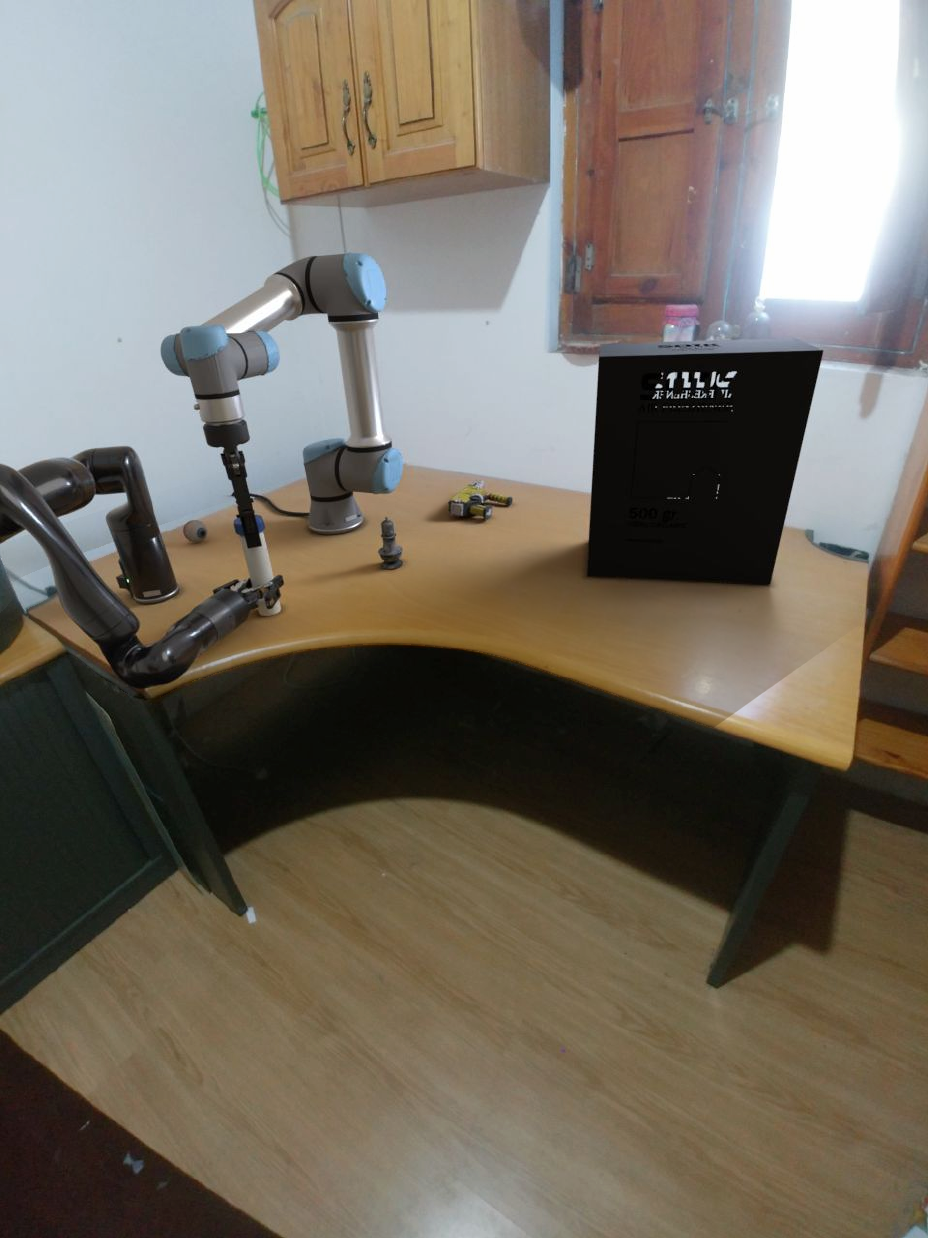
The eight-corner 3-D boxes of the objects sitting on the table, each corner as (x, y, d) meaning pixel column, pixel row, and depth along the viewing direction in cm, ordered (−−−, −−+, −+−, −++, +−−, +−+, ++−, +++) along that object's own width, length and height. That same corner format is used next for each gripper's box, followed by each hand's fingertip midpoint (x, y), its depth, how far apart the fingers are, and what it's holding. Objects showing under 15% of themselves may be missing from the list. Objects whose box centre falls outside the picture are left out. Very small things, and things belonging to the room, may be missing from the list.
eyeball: (196, 547, 160) (190, 526, 157) (181, 543, 163) (175, 522, 160) (215, 539, 164) (209, 518, 161) (200, 536, 167) (194, 515, 164)
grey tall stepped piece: (400, 569, 141) (394, 521, 135) (376, 568, 143) (369, 520, 137) (407, 559, 146) (402, 512, 140) (384, 558, 147) (378, 511, 141)
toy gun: (520, 484, 182) (474, 477, 186) (498, 508, 162) (446, 499, 166) (519, 500, 184) (473, 492, 188) (497, 524, 164) (445, 516, 168)
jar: (285, 609, 128) (265, 521, 118) (267, 618, 125) (245, 529, 115) (272, 603, 130) (252, 517, 120) (254, 612, 127) (232, 524, 117)
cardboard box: (751, 546, 143) (793, 337, 120) (770, 584, 126) (823, 350, 103) (589, 540, 150) (600, 343, 128) (586, 576, 133) (598, 356, 111)
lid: (240, 538, 115) (237, 526, 114) (232, 530, 119) (229, 518, 118) (268, 531, 118) (266, 519, 116) (260, 523, 122) (257, 512, 121)
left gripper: (244, 603, 109) (297, 564, 122) (181, 595, 113) (238, 558, 127) (254, 639, 112) (303, 597, 126) (192, 629, 117) (247, 589, 130)
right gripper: (200, 414, 114) (230, 530, 126) (203, 433, 99) (237, 562, 111) (241, 409, 116) (266, 523, 128) (250, 427, 102) (278, 554, 113)
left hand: (270, 577), depth 126 cm, fingers closed on jar, 4 cm apart
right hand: (253, 541), depth 119 cm, fingers closed on lid, 5 cm apart
